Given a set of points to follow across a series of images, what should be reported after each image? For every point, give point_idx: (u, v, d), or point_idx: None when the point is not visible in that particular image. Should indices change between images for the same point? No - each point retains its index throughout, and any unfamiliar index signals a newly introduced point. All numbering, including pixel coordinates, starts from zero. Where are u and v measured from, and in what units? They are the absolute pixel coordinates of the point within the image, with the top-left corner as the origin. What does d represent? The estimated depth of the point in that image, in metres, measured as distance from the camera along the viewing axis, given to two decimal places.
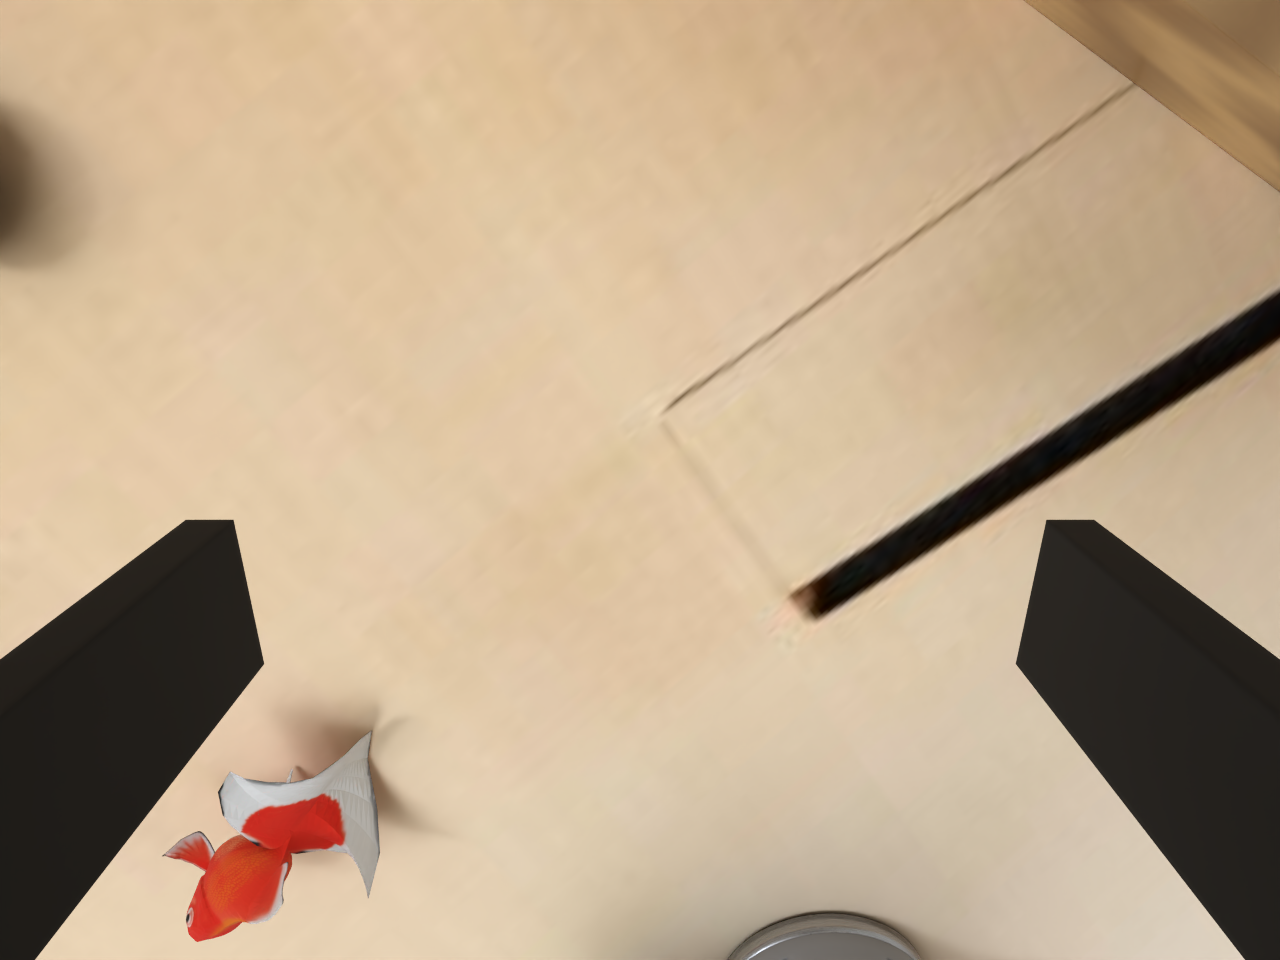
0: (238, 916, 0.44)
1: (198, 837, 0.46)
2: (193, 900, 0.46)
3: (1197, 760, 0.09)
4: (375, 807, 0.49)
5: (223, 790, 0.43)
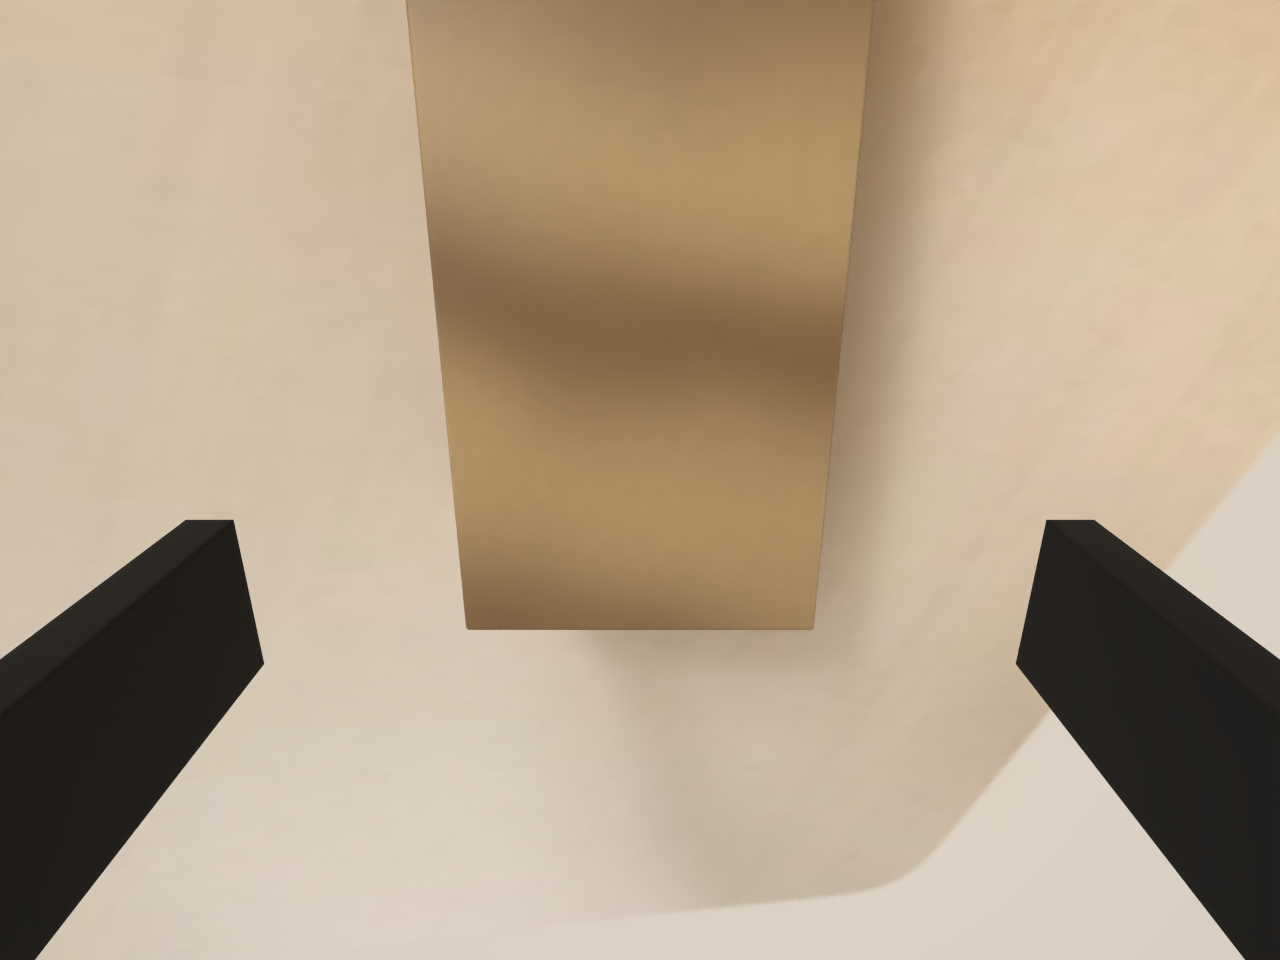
0: None
1: None
2: None
3: (1197, 761, 0.09)
4: None
5: None
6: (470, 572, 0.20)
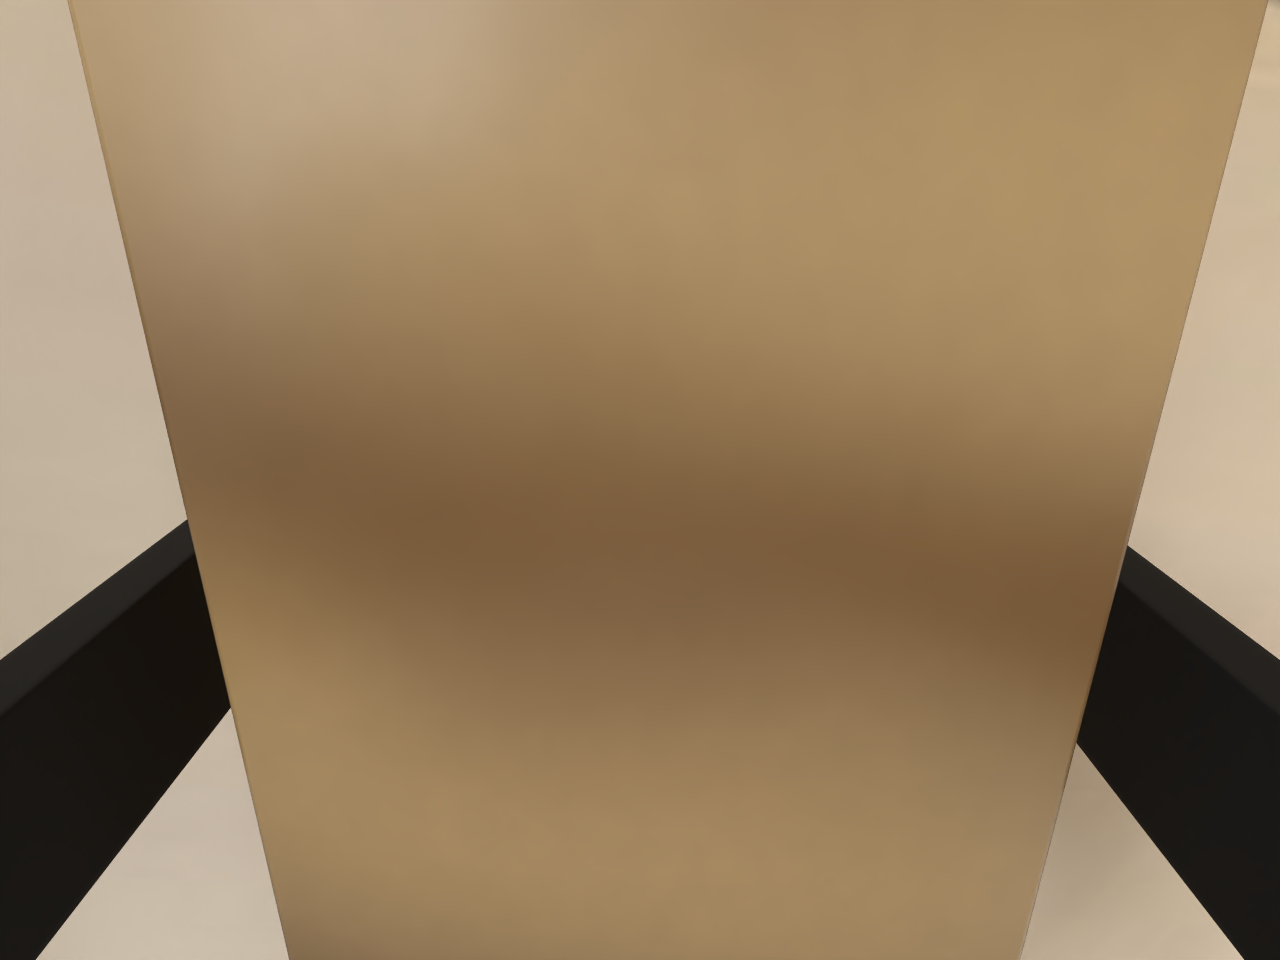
0: None
1: None
2: None
3: (1195, 761, 0.09)
4: None
5: None
6: None
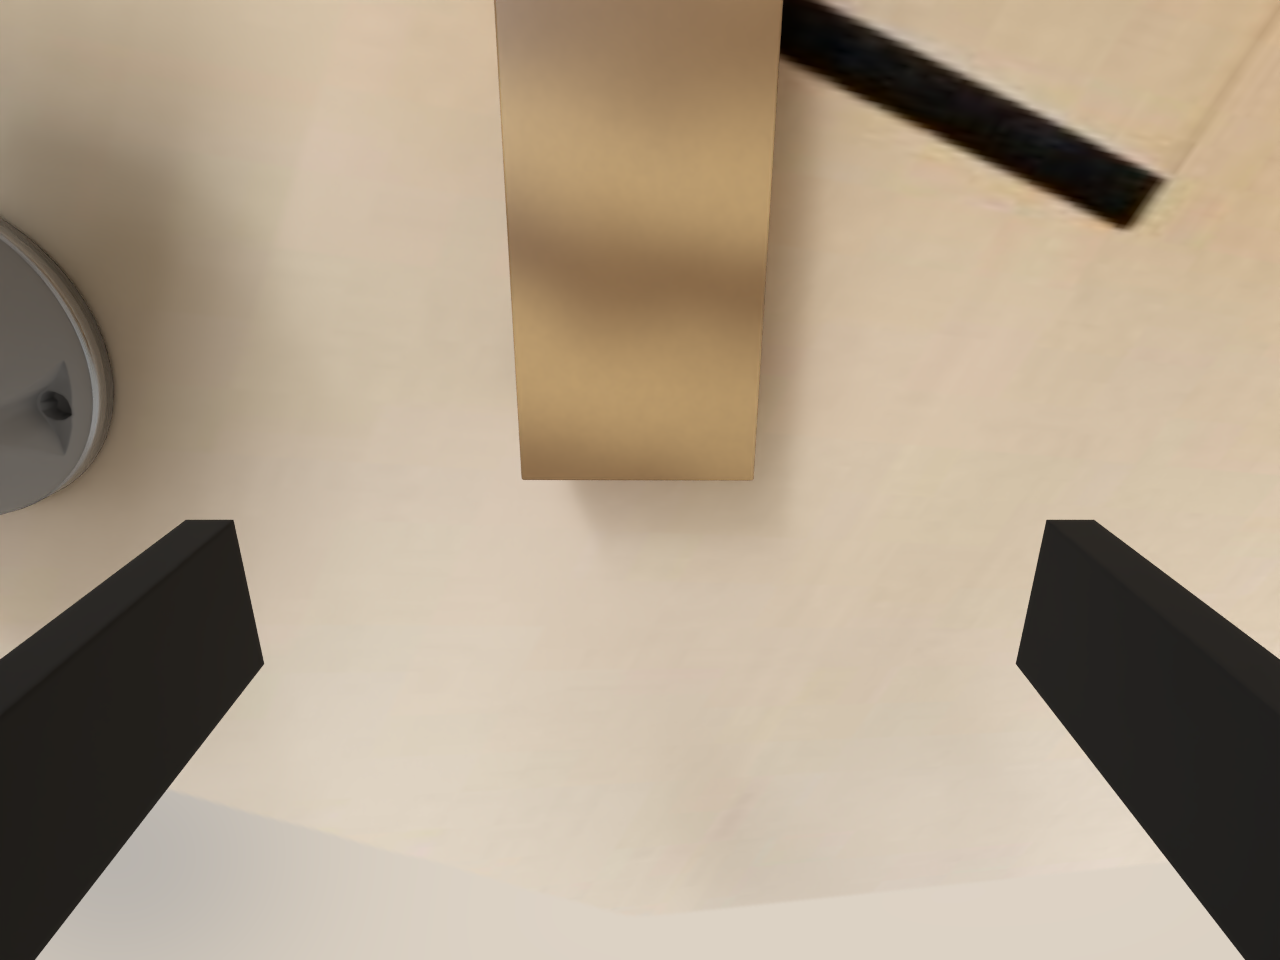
0: None
1: None
2: None
3: (1196, 761, 0.09)
4: None
5: None
6: (525, 439, 0.30)
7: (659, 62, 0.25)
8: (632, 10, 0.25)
